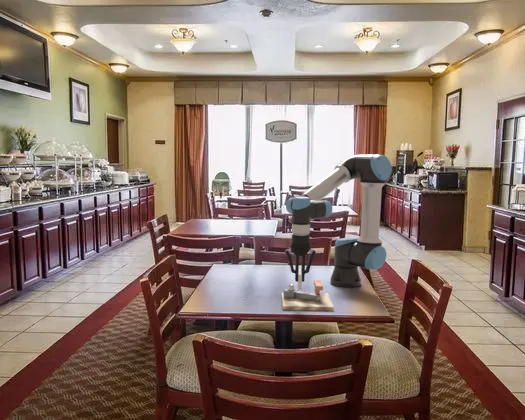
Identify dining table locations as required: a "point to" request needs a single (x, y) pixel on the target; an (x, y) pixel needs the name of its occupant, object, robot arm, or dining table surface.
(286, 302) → the board
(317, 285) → the keeper
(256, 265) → the dining table surface
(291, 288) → the pintle
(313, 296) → the link
